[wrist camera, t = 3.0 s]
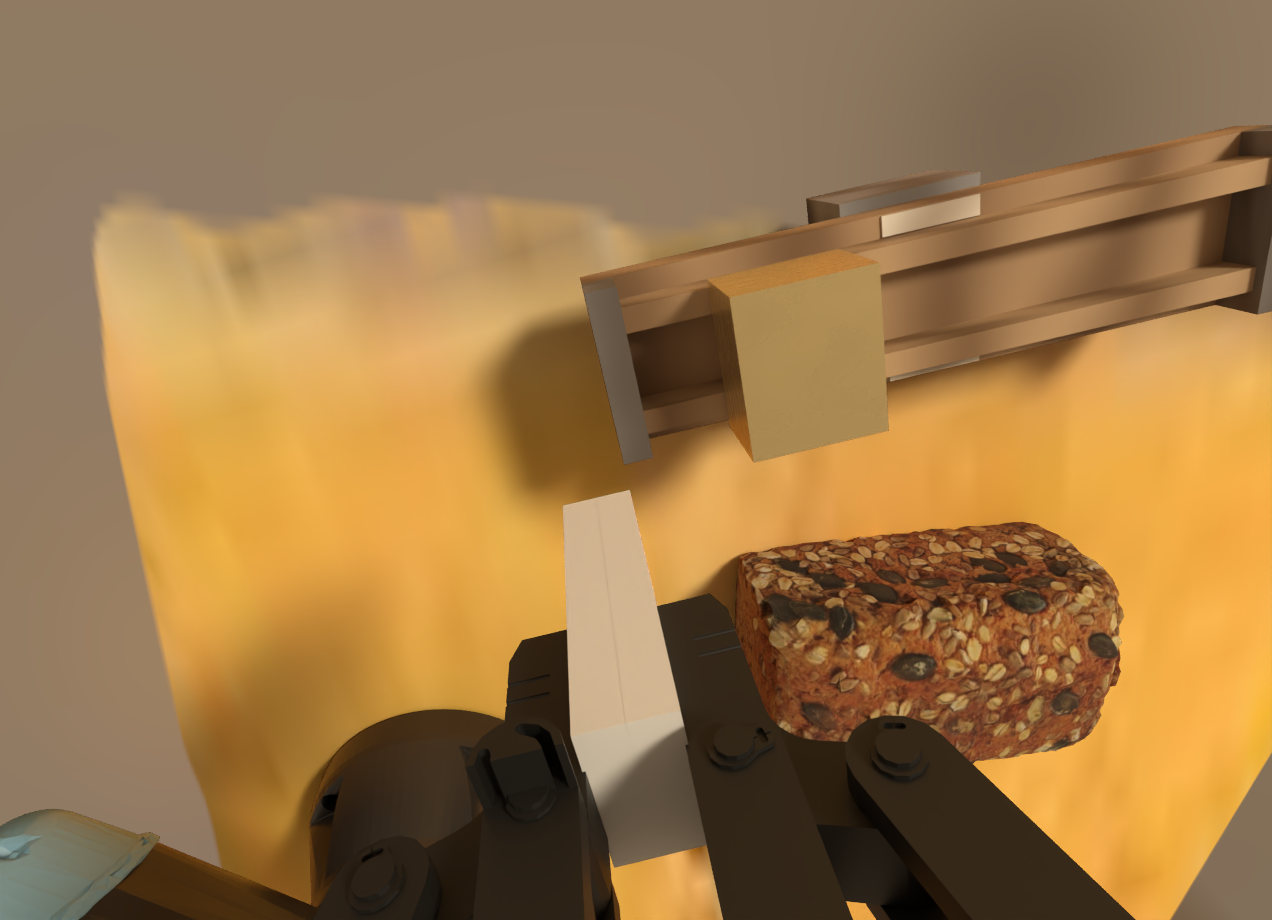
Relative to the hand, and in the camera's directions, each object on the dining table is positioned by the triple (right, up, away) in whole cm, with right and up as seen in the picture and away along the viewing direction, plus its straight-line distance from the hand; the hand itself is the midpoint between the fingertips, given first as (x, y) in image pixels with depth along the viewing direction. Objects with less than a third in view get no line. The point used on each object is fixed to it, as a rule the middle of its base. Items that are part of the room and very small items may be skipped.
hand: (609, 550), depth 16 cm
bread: (+15, -6, +27) cm, 32 cm away
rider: (+6, +7, +13) cm, 16 cm away
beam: (+12, +11, +18) cm, 25 cm away
